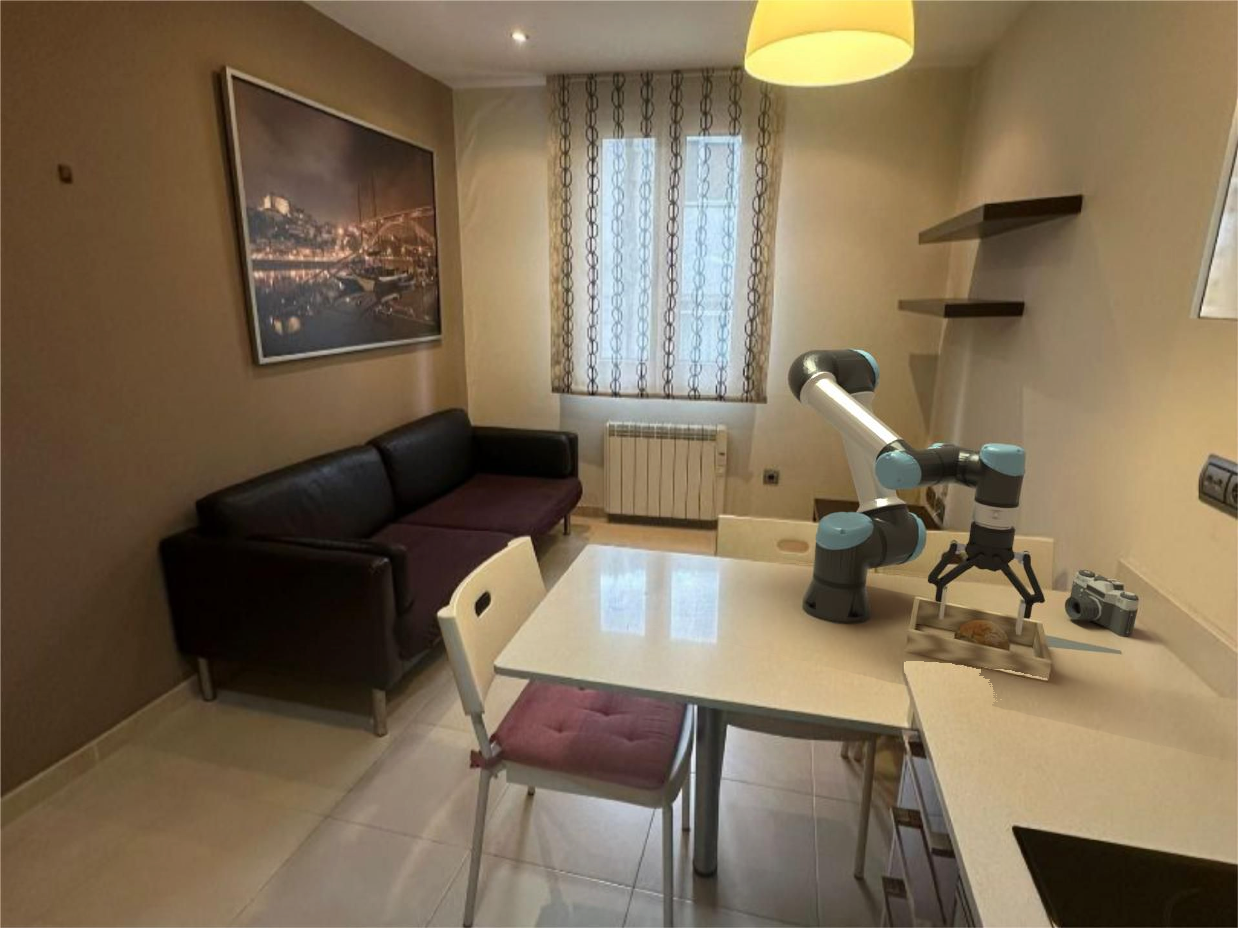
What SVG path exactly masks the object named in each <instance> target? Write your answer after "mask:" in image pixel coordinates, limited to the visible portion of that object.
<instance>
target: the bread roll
mask: <svg viewBox="0 0 1238 928" xmlns="http://www.w3.org/2000/svg"><path fill="white" fill-rule="evenodd" d="M953 637H954V638H953V639H958V640H962V641H967V642H971V643H976V644H980V645H985V646H989V647H994V648H998V649H1003V650H1007V651H1011V642H1009V641H1008V638H1007V635H1006V634H1005V632H1004V631H1003V630H1002V629H1001V628H1000V627H999V626H997V625H996V624H994V623H993V622H991V621H984V620H977V621H971V622H968V623H965V624H963V625H961V626H960V627H958V630H957V631H954V636H953Z"/></svg>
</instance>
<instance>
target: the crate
mask: <svg viewBox="0 0 1238 928" xmlns="http://www.w3.org/2000/svg"><path fill="white" fill-rule="evenodd" d="M913 599H914V600H913V604H912V605H913V606H912V610H911V616H910V622H909V626H908V631H907V632H908V633H907V637H906V646H905V647H906V648H905V652H907V653H911V654H915V655H922V656H926V657H930V658H935V659H939V660H944V661H949V662H954V663H958V664H964V665H968V666H971V667H977V668H981V667H987V668H990V669H1004V670H1012V671H1015V672H1021V673H1024V674H1030V675H1032V676H1039V677H1042V678H1047V679H1048V680H1049V678H1050V673H1051V668H1052V663H1053V662H1052V658H1051V655H1050V650H1049V647H1048V645H1047V641H1046V636H1045V635H1046V632H1045V628H1044V624H1043V621H1041V620H1036V619H1031V618H1029V619H1026V618H1024V619H1023V625H1022V631H1021V635H1017V634H1016V622H1017V616H1015V615H1011V614H1007V613H1006V614H1005V613H1002V612H995V611H991V610H986V609H980V608H976V607H971V606H966V605H960V604H956V603H951V602H945V609H944V617H943V620H942V619H939V614H940V606H941V602H936V600H935V599H932V598H931V599H930V598H925V597H922V596H921V597H920V596H917V595H916V596H914V598H913ZM977 620H984V621H991V622H993V623H994V624H996V625H997V626H999V627H1000V628H1001V629H1002V630H1003V631H1004V632H1005V634H1006V635H1007V638H1008V641H1009V643H1015V644H1020V645H1024V646H1029V647H1032V649H1033V654H1034V655H1030V654H1029V655H1028V654H1024V653H1021V652H1015V651H1011V650H1010V651H1007V650H1003V649H998V648H994V647H989V646H985V645H980V644H976V643H971V642H967V641H962V640H958V639H954V638H953V637H948V636H944V635H943V636H942V635H939V634H934V633H930V632H925V631H921V630H916V628H917V625H920V626H921V625H923V626H927V627H932V628H937V629H942V630H948V631H953V632H956V631H957V630H958V627H960V626H961V625H963V624H965V623H968V622H971V621H977ZM990 669H989V670H990Z"/></svg>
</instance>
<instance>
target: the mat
mask: <svg viewBox="0 0 1238 928" xmlns="http://www.w3.org/2000/svg"><path fill="white" fill-rule="evenodd" d="M1045 636H1046V641H1047V645H1048V648H1053V649H1054V648H1055V649H1064V650H1073V651H1074V650H1075V651H1085V652H1093V653H1094V652H1096V653H1106V654H1117V655H1123V652H1122V651H1121V650H1119V649H1115V648H1110V647H1106V646H1105V647H1104V646H1101V645H1094V644H1090V643H1086V642H1081V641H1077V640H1076V641H1075V640H1070V639H1065V638H1061V637H1057V636H1051V635H1047V634H1045Z"/></svg>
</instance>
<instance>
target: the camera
mask: <svg viewBox="0 0 1238 928" xmlns="http://www.w3.org/2000/svg"><path fill="white" fill-rule="evenodd" d="M1124 588H1125V583H1124V582H1119V581H1118V580H1117V579H1111V578H1110V579H1109V578H1107V577H1104V576H1102V575H1100V573H1099V572H1096V573H1095V572H1093V571H1091V570H1087V569H1079V570H1078V571H1076V572H1075V575H1074V580H1073V581H1072V586H1071V592H1070V596H1069V597H1067V599H1065V603H1064V610H1065V612H1066V615H1067V616H1068V618H1070V619H1072V620H1075V621H1087V622H1089V621H1092V622H1094V623H1096V624H1098V625H1100V626H1103V627H1104V628H1106V629H1107V630H1109V631H1111V632H1112V633H1114V634H1116V636H1118V637H1131V636H1133V632H1134V628H1135V623H1136V618H1137V614H1138V607H1139V602H1140V598H1139V596H1138V595H1136V594H1135V593H1133V592H1129V591H1125V590H1124Z"/></svg>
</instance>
